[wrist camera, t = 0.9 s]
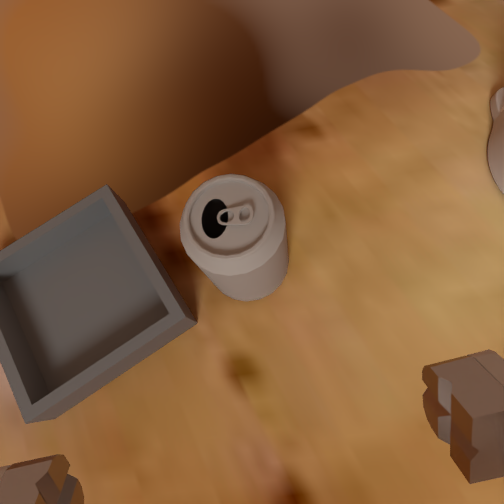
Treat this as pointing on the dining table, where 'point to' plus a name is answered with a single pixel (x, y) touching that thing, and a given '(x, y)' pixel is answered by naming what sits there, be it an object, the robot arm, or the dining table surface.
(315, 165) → the dining table surface
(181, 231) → the can
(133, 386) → the dining table surface
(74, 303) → the tray
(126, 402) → the dining table surface
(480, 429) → the robot arm
